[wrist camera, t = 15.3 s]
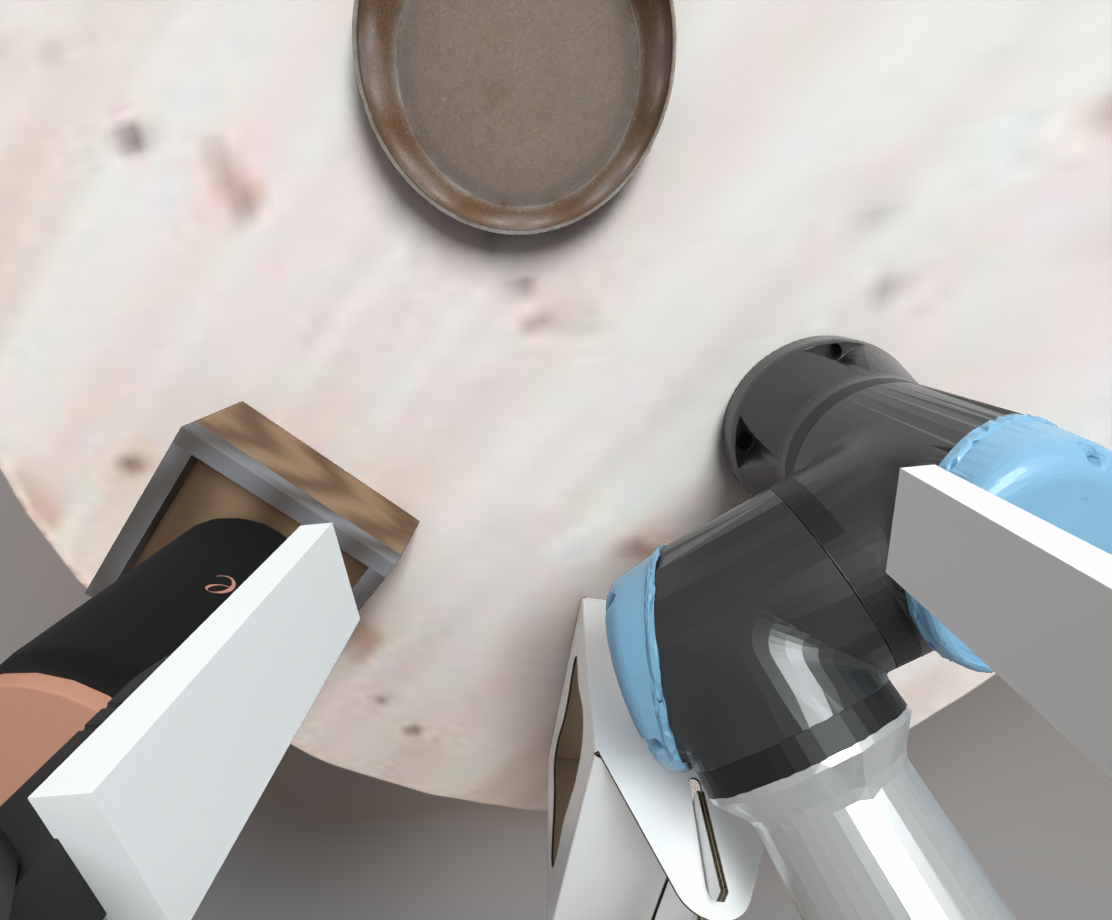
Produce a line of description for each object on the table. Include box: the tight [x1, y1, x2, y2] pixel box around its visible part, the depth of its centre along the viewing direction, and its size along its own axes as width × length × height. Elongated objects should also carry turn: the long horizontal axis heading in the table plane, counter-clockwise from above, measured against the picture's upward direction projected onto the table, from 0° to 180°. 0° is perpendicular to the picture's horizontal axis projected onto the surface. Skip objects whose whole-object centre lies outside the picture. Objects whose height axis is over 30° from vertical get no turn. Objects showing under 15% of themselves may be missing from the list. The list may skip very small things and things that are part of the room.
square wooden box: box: [85, 401, 419, 611], centre depth 44 cm, size 18×18×8 cm
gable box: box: [546, 597, 764, 920], centre depth 41 cm, size 22×13×28 cm, turn 171°
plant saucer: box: [352, 0, 676, 235], centre depth 34 cm, size 21×21×3 cm
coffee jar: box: [0, 518, 287, 806], centre depth 34 cm, size 11×11×18 cm
